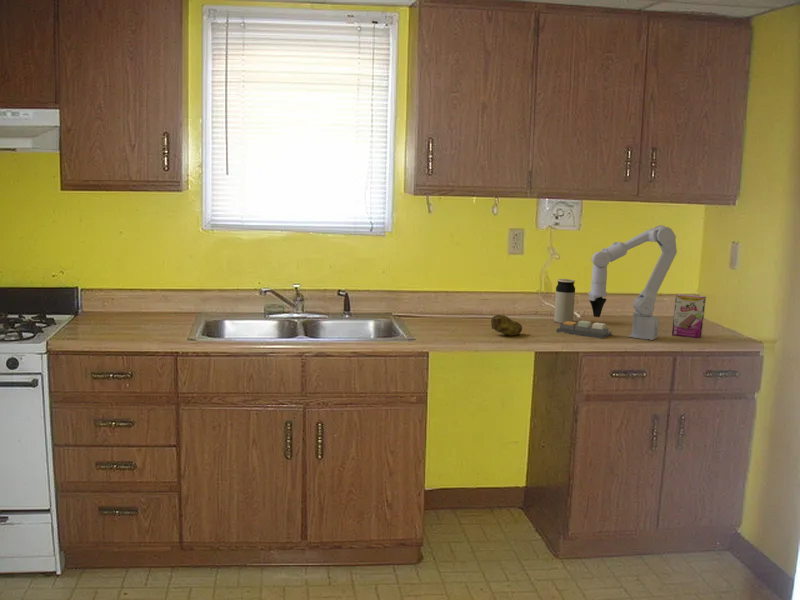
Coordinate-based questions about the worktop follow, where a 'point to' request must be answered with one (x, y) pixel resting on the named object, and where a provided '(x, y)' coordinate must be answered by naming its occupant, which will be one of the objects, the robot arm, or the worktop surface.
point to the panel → (584, 331)
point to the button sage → (584, 323)
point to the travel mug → (564, 300)
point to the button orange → (569, 323)
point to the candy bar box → (688, 315)
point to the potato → (505, 325)
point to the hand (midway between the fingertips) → (596, 316)
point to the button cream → (599, 326)
